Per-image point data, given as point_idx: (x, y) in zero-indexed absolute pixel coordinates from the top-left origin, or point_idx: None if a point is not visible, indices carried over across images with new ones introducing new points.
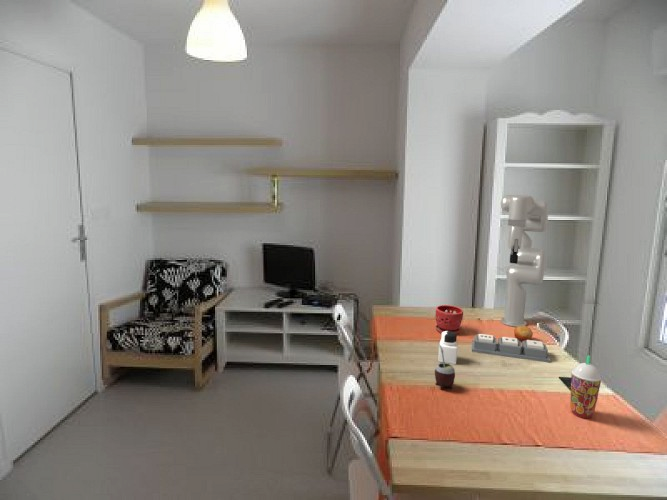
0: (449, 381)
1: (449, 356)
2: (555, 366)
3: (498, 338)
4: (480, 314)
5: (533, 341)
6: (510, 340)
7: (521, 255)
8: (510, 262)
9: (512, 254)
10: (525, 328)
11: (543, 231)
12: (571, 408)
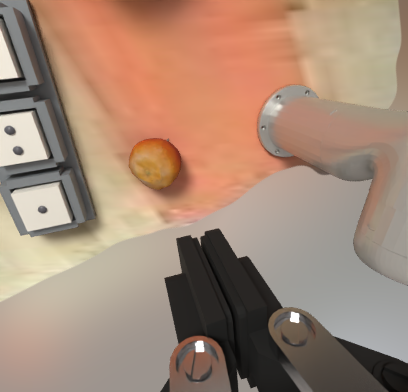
0: None
1: None
2: (9, 242)
3: (30, 98)
4: (342, 10)
5: (54, 204)
6: (9, 142)
7: None
8: (178, 245)
9: (177, 366)
10: (154, 174)
11: None
12: None
